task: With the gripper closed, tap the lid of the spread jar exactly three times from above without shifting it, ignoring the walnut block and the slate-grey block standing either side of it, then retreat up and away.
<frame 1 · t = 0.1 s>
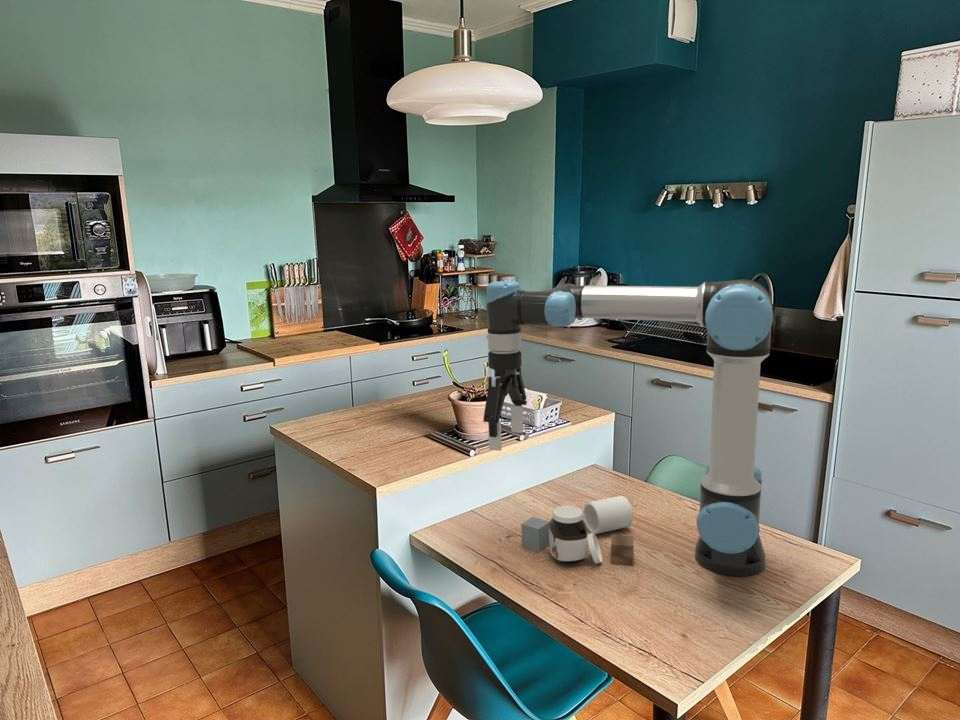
hand: (506, 440, 159), 28 cm above the table, fingers open, 13 cm apart
walnut block: (622, 560, 159), on the table
mug: (603, 526, 177), on the table
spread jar: (576, 559, 160), on the table
slate block: (535, 545, 167), on the table
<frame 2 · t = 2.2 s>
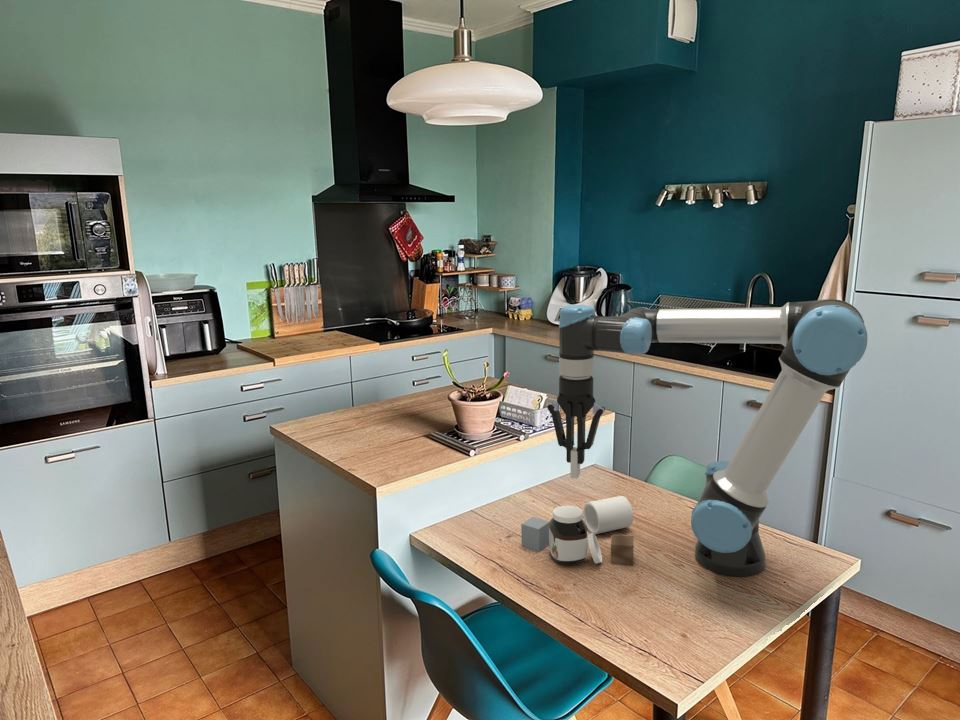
hand: (575, 476, 156), 20 cm above the table, fingers closed
nothing on the table moved.
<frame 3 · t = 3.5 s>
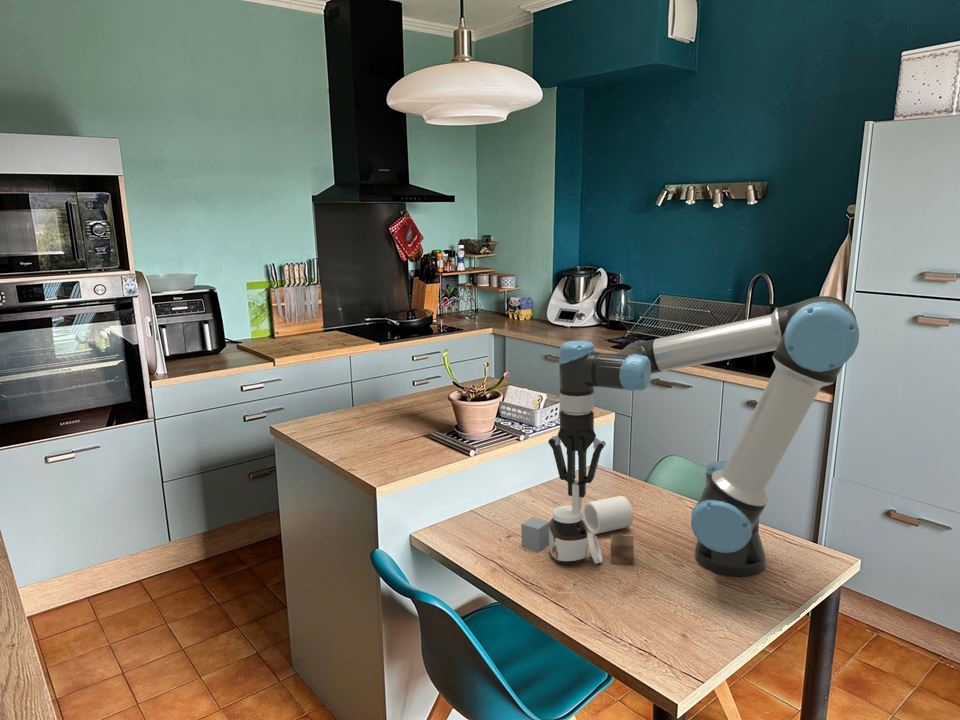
hand: (576, 509, 158), 12 cm above the table, fingers closed
nothing on the table moved.
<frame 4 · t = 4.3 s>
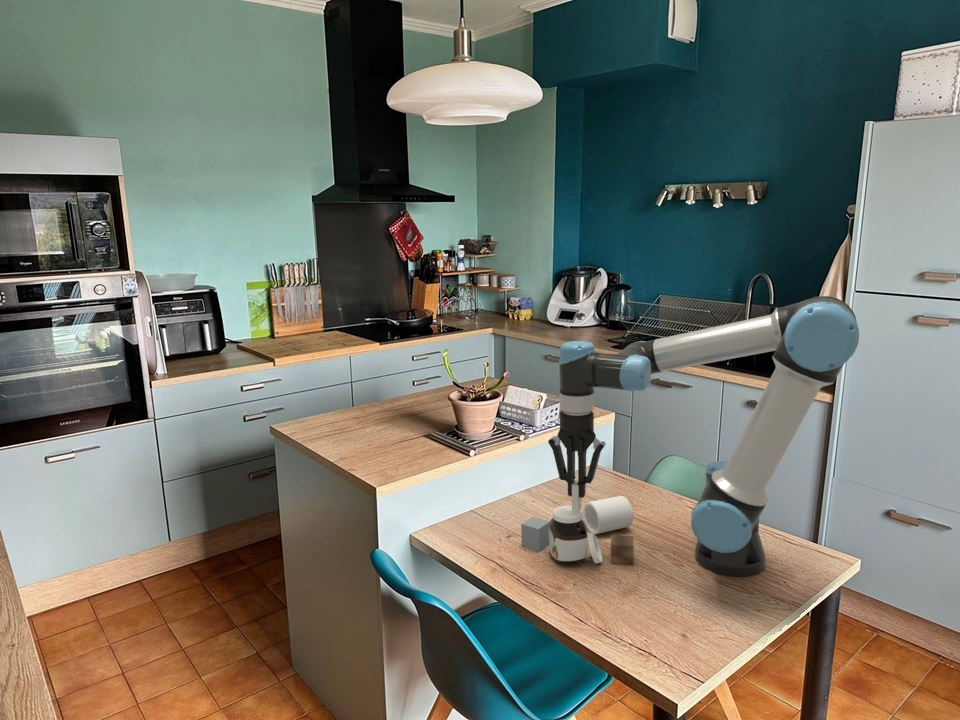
hand: (576, 509, 158), 12 cm above the table, fingers closed
nothing on the table moved.
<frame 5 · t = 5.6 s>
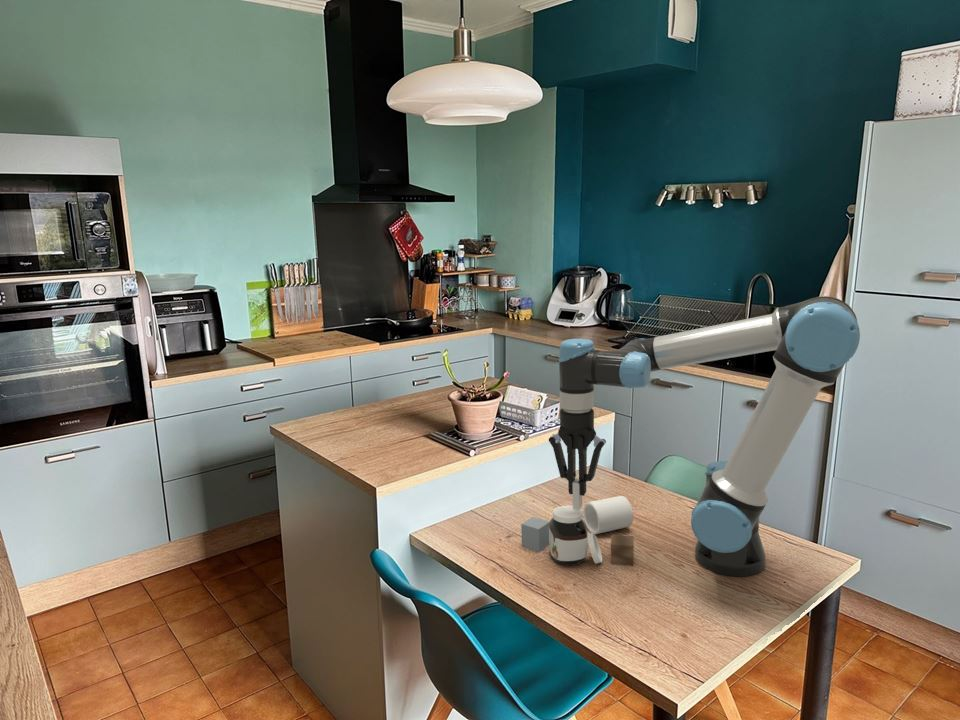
hand: (577, 507, 158), 13 cm above the table, fingers closed
nothing on the table moved.
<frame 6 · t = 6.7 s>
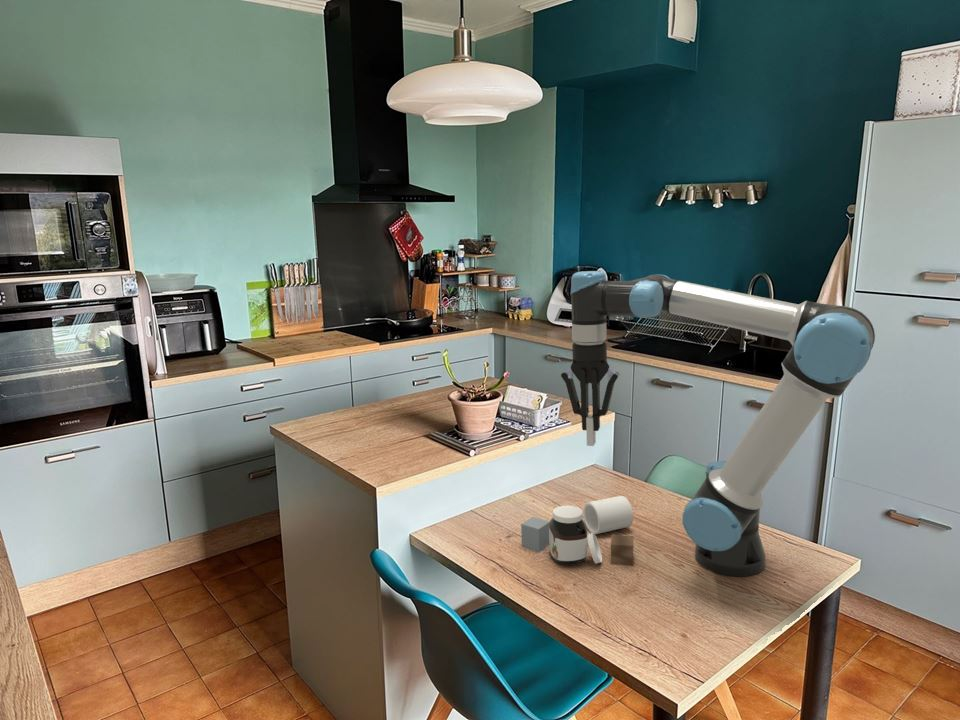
hand: (591, 443, 156), 27 cm above the table, fingers closed
nothing on the table moved.
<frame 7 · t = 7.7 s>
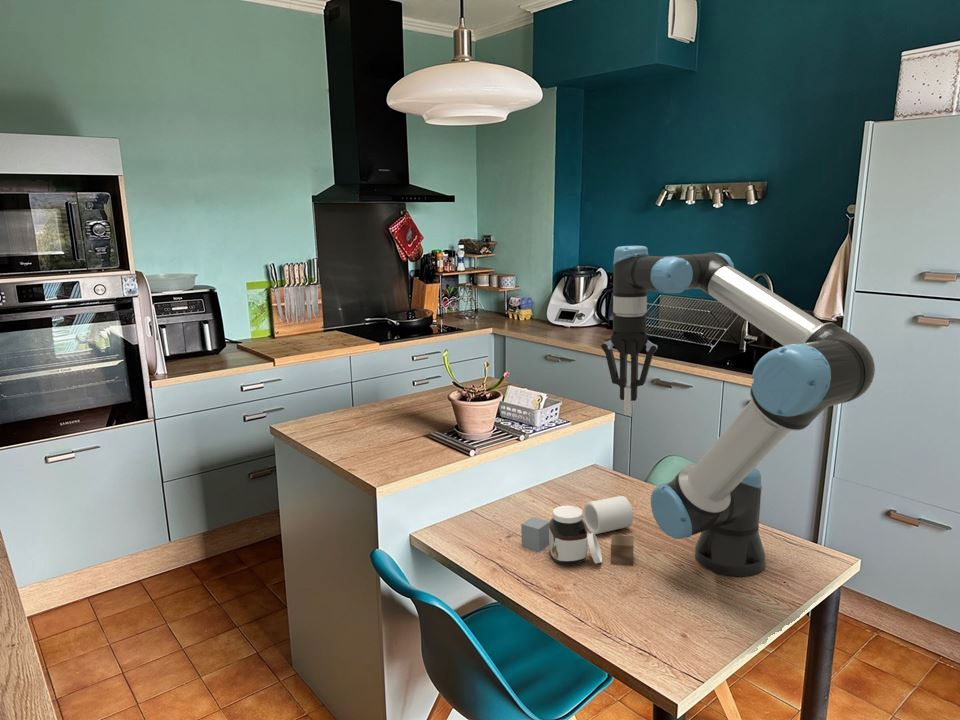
hand: (628, 413, 162), 32 cm above the table, fingers closed
nothing on the table moved.
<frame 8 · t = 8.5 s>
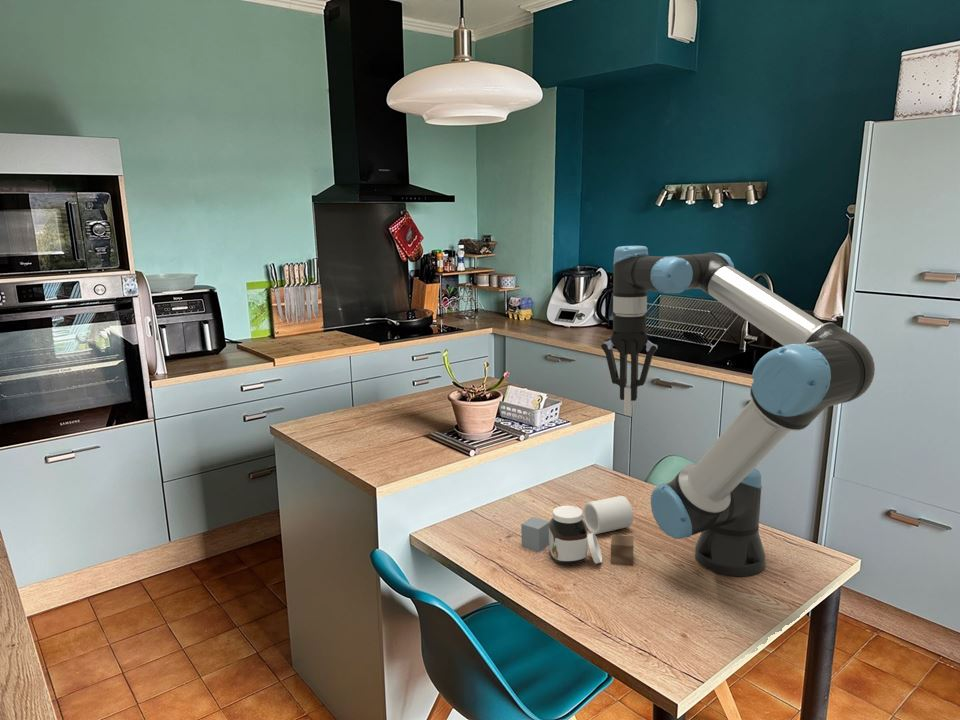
hand: (628, 413, 162), 32 cm above the table, fingers closed
nothing on the table moved.
at the end: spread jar moved 0.3 cm from its start; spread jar tilted 0°; slate block moved 0.1 cm from its start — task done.
